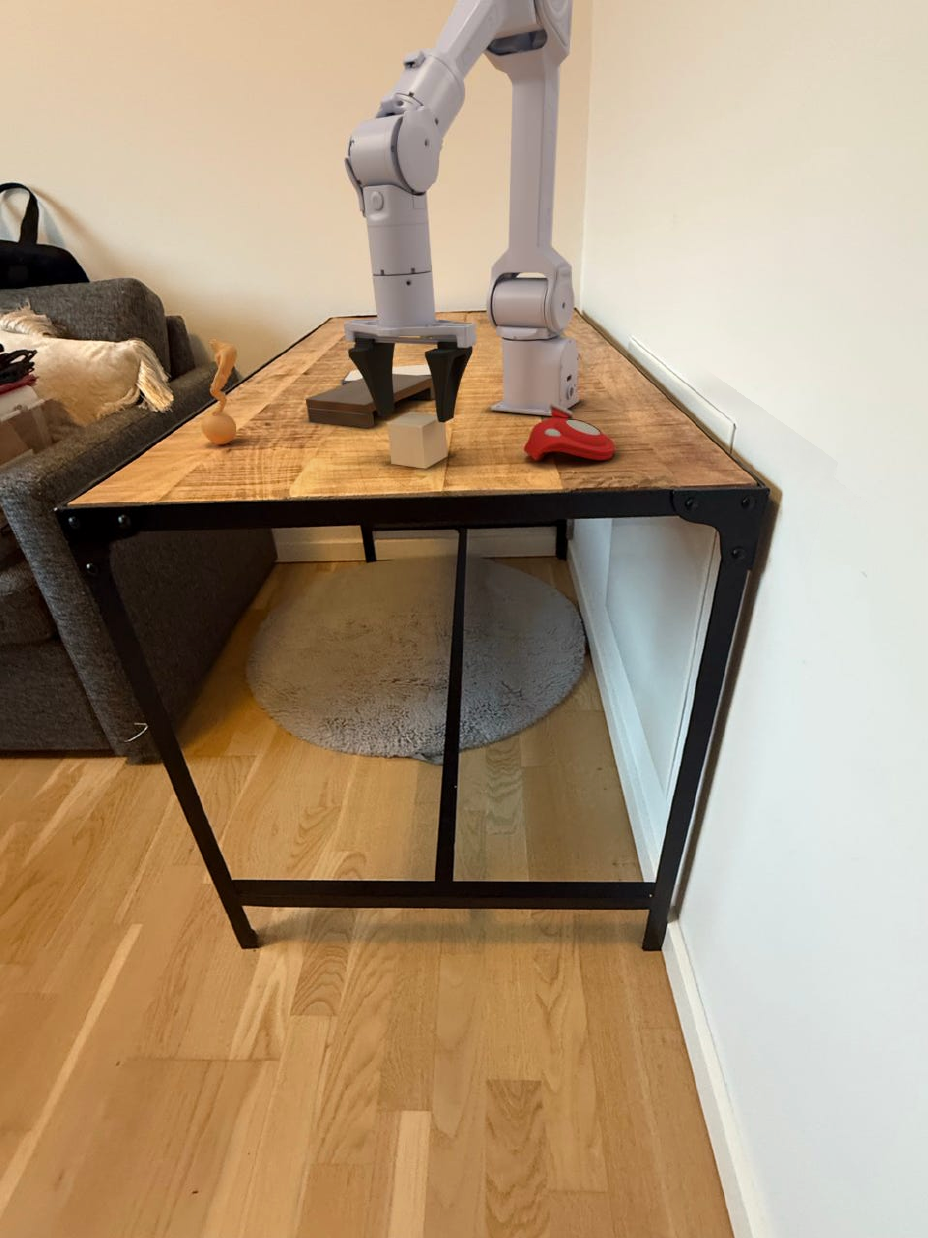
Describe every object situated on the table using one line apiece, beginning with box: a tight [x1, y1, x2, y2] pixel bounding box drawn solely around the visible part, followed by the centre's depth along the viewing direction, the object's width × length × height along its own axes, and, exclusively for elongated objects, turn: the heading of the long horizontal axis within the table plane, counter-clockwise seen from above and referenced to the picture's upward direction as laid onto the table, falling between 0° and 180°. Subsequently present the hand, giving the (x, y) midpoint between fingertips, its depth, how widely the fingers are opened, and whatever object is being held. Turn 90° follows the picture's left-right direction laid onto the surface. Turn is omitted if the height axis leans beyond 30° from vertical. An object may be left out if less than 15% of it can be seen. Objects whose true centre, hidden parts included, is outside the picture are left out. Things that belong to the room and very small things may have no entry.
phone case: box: [341, 363, 431, 386], centre depth 107 cm, size 9×2×16 cm
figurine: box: [201, 338, 238, 445], centre depth 80 cm, size 8×6×12 cm
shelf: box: [305, 374, 435, 429], centre depth 92 cm, size 10×16×3 cm, turn 150°
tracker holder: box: [523, 402, 616, 462], centre depth 72 cm, size 12×4×10 cm
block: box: [386, 411, 448, 470], centre depth 72 cm, size 4×4×4 cm
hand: (415, 416), depth 71 cm, fingers open, 7 cm apart
